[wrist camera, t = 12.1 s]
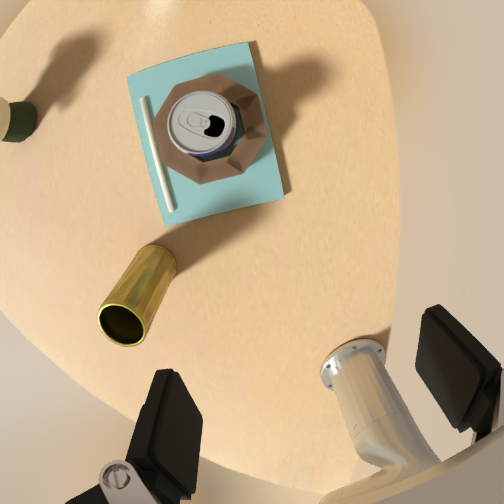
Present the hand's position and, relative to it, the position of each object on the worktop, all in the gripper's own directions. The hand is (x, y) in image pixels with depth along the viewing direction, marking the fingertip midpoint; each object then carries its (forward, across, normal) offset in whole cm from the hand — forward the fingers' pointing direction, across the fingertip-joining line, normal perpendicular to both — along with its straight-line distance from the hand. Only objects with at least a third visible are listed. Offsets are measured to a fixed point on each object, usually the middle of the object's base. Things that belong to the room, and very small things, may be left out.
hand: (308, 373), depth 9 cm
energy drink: (+26, +3, -11) cm, 29 cm away
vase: (+28, +15, +4) cm, 32 cm away
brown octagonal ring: (+26, +3, -12) cm, 29 cm away
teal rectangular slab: (+27, +4, -12) cm, 30 cm away
